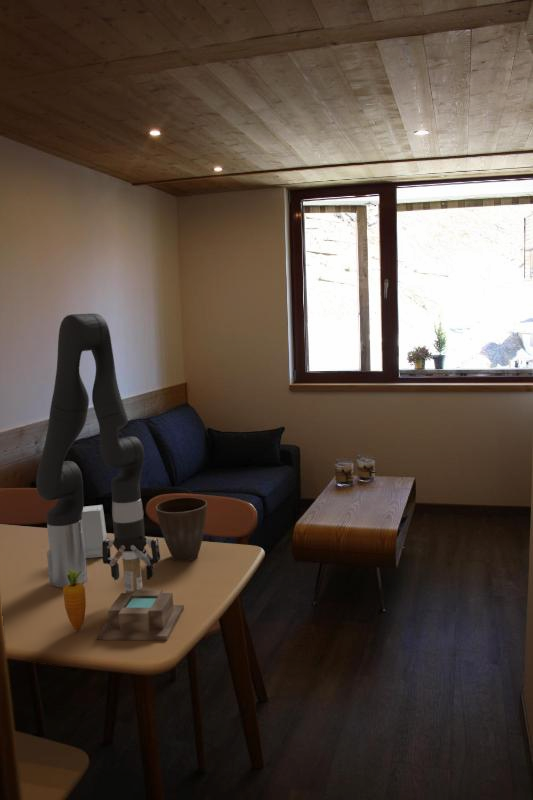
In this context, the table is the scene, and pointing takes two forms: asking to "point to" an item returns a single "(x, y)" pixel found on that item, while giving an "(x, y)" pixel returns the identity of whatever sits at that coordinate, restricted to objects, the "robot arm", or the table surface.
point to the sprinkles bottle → (131, 571)
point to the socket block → (142, 617)
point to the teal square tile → (141, 603)
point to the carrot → (75, 600)
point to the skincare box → (93, 530)
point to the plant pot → (182, 526)
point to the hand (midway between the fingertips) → (133, 578)
